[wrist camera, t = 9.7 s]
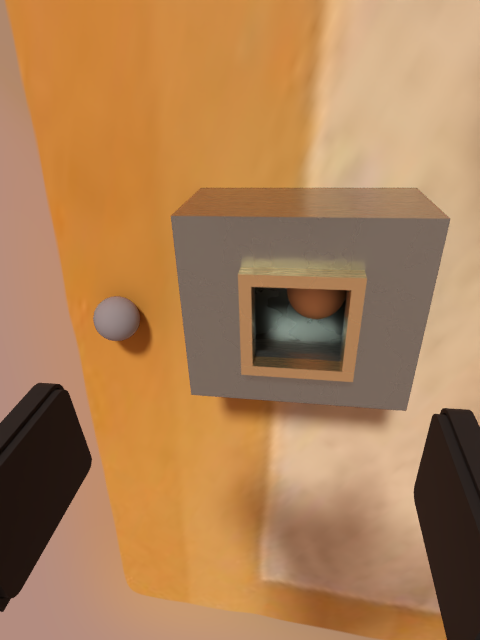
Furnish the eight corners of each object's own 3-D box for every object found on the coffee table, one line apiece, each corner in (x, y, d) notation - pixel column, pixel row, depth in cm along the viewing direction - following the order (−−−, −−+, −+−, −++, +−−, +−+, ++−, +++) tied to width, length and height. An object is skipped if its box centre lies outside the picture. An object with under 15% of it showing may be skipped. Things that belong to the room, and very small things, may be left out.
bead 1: (81, 309, 34) (100, 288, 37) (91, 348, 36) (108, 326, 39) (127, 309, 33) (142, 289, 37) (135, 350, 35) (148, 327, 39)
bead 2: (325, 248, 33) (362, 267, 29) (321, 297, 35) (355, 321, 31) (276, 258, 31) (310, 280, 27) (276, 309, 33) (306, 335, 30)
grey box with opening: (416, 187, 29) (457, 225, 21) (387, 349, 36) (409, 422, 28) (201, 188, 31) (164, 221, 23) (212, 339, 38) (187, 405, 30)
